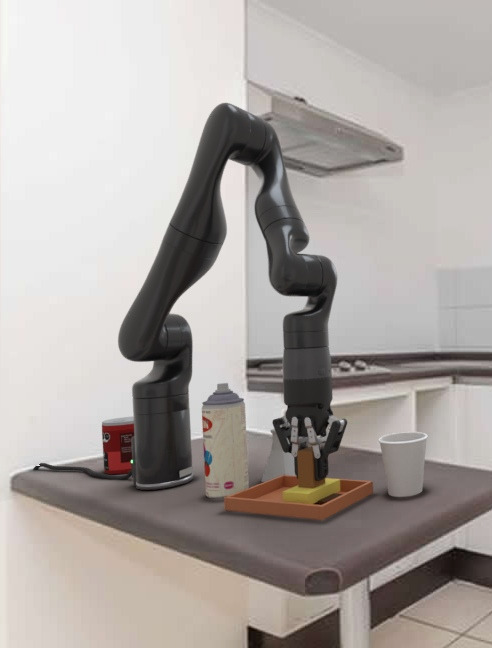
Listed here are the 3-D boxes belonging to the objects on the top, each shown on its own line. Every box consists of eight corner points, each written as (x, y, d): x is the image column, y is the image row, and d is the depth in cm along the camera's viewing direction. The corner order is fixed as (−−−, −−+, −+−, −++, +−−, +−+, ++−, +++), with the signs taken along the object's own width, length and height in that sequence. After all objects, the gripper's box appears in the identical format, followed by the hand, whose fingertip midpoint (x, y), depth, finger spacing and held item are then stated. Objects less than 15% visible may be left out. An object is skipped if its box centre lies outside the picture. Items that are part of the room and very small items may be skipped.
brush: (282, 503, 89) (280, 454, 88) (316, 488, 96) (314, 443, 96) (308, 506, 87) (306, 456, 87) (340, 490, 95) (338, 444, 94)
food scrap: (317, 507, 89) (317, 500, 89) (333, 499, 93) (333, 493, 93) (338, 508, 88) (338, 502, 88) (353, 500, 91) (353, 494, 91)
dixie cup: (425, 484, 101) (423, 429, 101) (434, 497, 93) (431, 438, 93) (378, 490, 98) (376, 434, 98) (383, 504, 90) (380, 444, 90)
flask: (287, 486, 103) (285, 432, 103) (253, 485, 105) (250, 432, 104) (309, 474, 110) (307, 425, 110) (277, 474, 112) (275, 425, 111)
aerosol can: (205, 494, 100) (199, 383, 100) (246, 486, 104) (241, 380, 103) (207, 504, 94) (201, 387, 94) (251, 495, 98) (246, 383, 97)
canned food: (115, 466, 123) (113, 417, 123) (155, 463, 124) (153, 415, 124) (95, 476, 115) (93, 423, 115) (138, 472, 117) (135, 421, 116)
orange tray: (224, 512, 89) (223, 497, 89) (284, 488, 102) (283, 474, 102) (322, 523, 83) (322, 506, 83) (373, 495, 96) (372, 481, 96)
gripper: (357, 372, 92) (361, 475, 93) (289, 372, 97) (293, 470, 97) (328, 377, 85) (332, 488, 86) (256, 377, 90) (260, 482, 90)
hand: (311, 478), depth 92 cm, fingers closed on brush, 3 cm apart
